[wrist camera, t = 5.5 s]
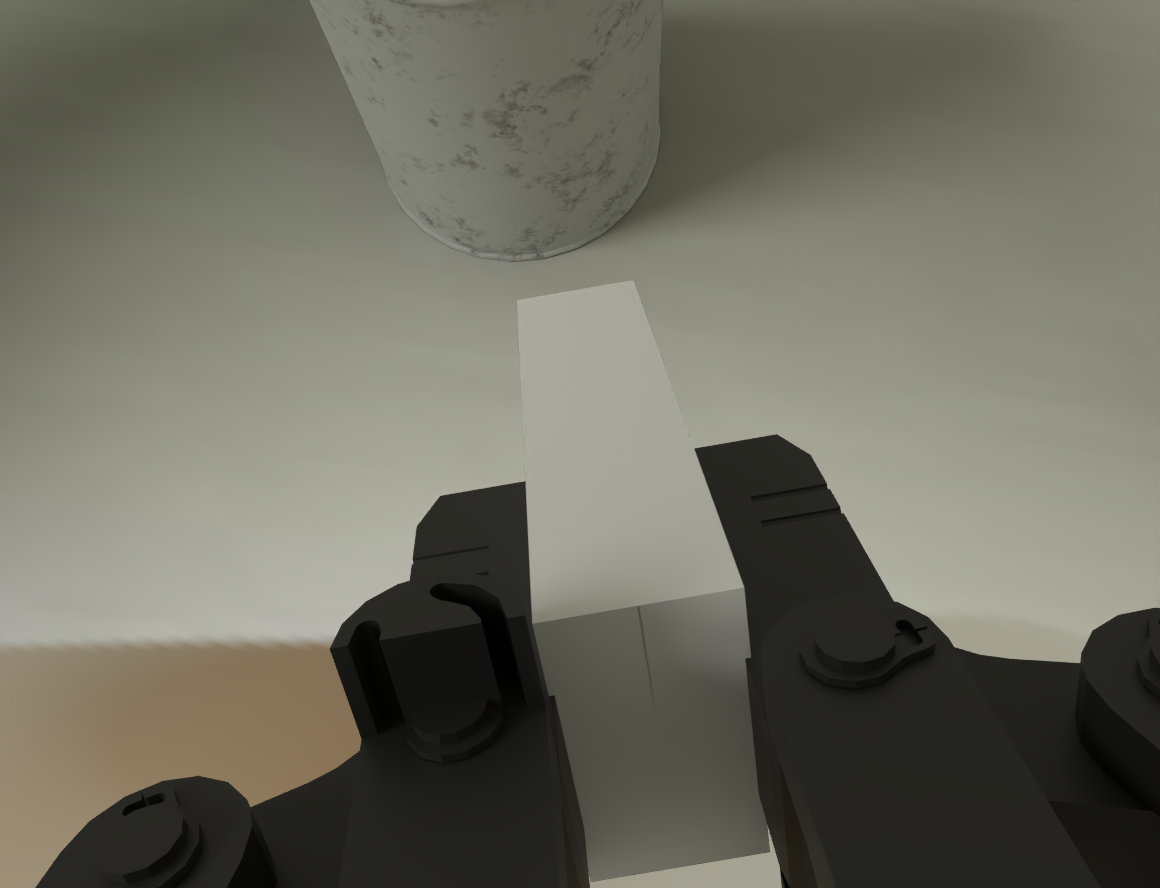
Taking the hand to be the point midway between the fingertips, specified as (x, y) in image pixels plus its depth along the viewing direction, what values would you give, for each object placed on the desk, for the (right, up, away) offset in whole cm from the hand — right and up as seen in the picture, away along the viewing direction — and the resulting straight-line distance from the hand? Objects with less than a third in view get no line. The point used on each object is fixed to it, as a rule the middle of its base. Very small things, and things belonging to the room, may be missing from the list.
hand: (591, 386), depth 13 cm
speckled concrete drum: (-2, +10, +21) cm, 23 cm away
